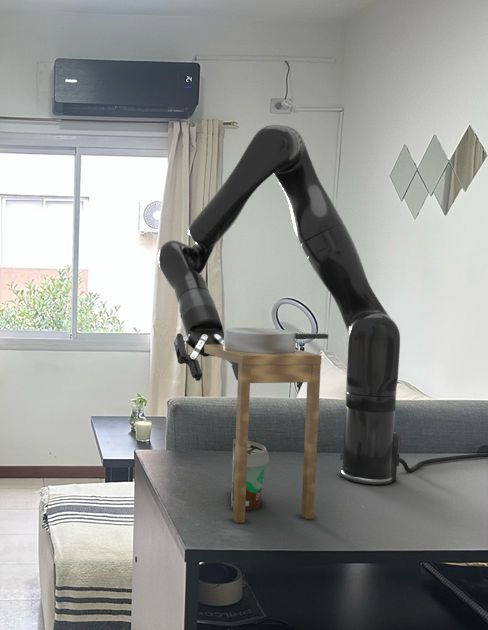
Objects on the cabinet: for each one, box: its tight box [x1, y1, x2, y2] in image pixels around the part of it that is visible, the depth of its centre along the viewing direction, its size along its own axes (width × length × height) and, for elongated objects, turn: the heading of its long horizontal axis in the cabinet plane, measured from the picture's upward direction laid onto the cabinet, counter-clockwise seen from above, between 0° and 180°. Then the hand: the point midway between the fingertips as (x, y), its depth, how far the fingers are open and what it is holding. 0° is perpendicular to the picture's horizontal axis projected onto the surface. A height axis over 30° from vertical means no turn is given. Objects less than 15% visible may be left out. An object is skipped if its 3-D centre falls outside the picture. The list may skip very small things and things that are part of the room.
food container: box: [230, 438, 270, 511], centre depth 132 cm, size 12×6×10 cm, turn 168°
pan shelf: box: [204, 327, 329, 524], centre depth 130 cm, size 20×16×31 cm
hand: (219, 378), depth 146 cm, fingers open, 8 cm apart
